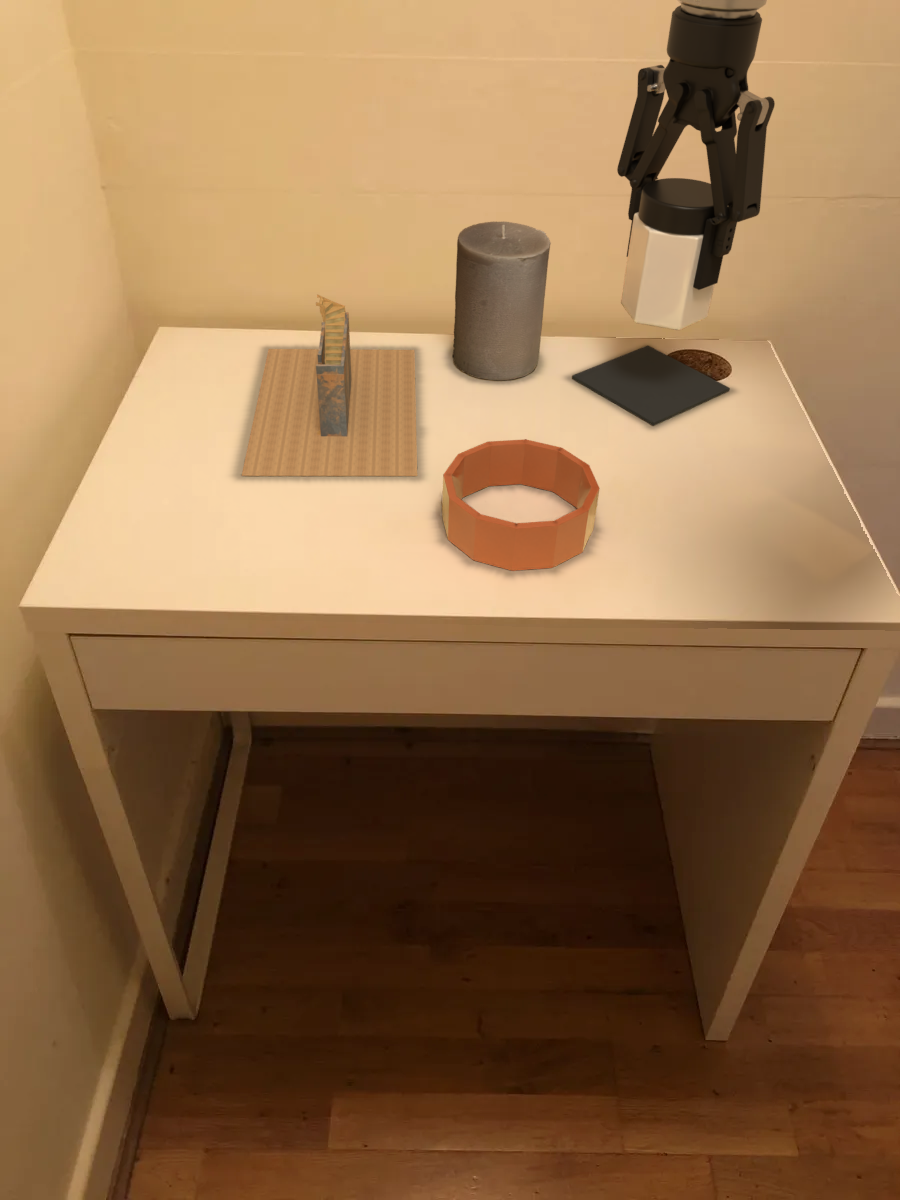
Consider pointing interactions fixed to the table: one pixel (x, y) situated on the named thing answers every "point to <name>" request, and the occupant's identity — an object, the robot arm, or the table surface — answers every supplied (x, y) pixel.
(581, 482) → the ring
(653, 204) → the jar
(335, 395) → the ruin model on sheet
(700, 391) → the mat
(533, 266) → the pillar candle
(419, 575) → the table surface
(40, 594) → the table surface
